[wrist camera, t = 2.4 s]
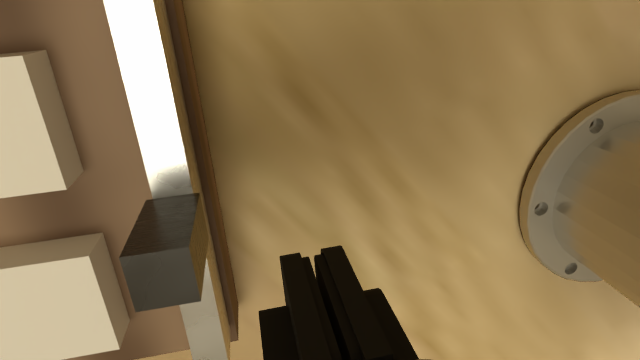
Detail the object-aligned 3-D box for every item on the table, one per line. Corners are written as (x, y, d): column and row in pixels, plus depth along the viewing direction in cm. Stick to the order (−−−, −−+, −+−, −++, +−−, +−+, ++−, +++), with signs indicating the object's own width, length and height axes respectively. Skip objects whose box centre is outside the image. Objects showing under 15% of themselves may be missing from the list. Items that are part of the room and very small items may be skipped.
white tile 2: (102, 232, 20) (88, 255, 18) (129, 320, 22) (119, 349, 20) (-17, 250, 19) (-45, 275, 17) (22, 338, 21) (1, 370, 19)
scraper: (170, -4, 16) (131, -8, 10) (235, 330, 22) (234, 450, 16) (115, 0, 16) (41, -2, 10) (196, 337, 22) (180, 462, 16)
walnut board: (177, -27, 19) (166, -32, 16) (238, 304, 26) (238, 340, 23) (-130, -5, 17) (-199, -7, 15) (23, 342, 24) (-4, 384, 22)
